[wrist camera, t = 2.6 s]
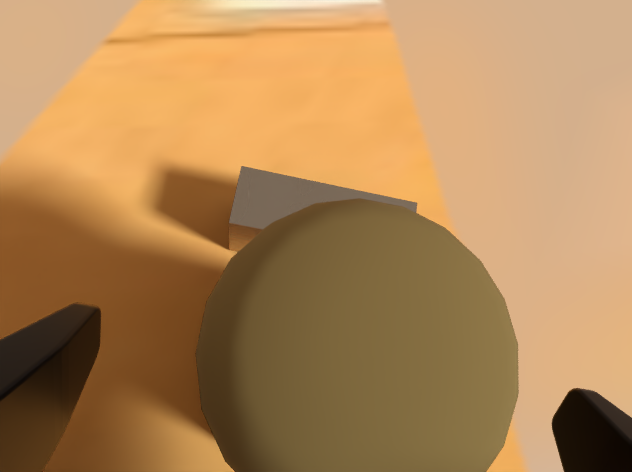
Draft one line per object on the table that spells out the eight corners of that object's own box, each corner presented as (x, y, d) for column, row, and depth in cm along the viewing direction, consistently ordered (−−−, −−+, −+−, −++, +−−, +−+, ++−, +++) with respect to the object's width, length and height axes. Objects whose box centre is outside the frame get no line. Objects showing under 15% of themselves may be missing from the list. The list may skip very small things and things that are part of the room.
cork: (164, 397, 16) (38, 405, 5) (271, 257, 18) (327, 71, 8) (312, 508, 15) (475, 737, 5) (404, 352, 18) (649, 294, 7)
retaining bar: (384, 279, 18) (412, 258, 16) (229, 249, 18) (228, 222, 15) (389, 231, 19) (417, 202, 16) (239, 200, 18) (241, 165, 16)
